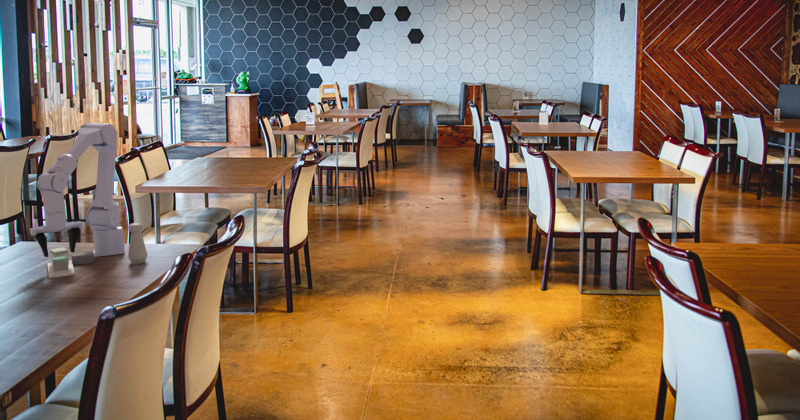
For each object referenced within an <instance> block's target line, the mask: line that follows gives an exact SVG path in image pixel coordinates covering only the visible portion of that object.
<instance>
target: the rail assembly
mask: <svg viewBox="0 0 800 420" xmlns="http://www.w3.org/2000/svg"><path fill="white" fill-rule="evenodd" d="M52 260H53V266H52V265H51V262H47V270H48V278H49V279H53V278H60V277H68V276H75V269H74V265H73V264H72V259H69V265H68V258H67V256H59V257H52Z"/></svg>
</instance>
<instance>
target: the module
mask: <svg viewBox="0 0 800 420" xmlns="http://www.w3.org/2000/svg"><path fill="white" fill-rule="evenodd" d="M49 253H50V263H51V265H52V266H53V260H52V257H59V256H67V258H68V265H69V260H70V258H69V249H67V248H66V247H63V246H62V247H57V248H51V249H49Z"/></svg>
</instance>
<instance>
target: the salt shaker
mask: <svg viewBox="0 0 800 420" xmlns="http://www.w3.org/2000/svg"><path fill="white" fill-rule="evenodd" d="M143 228H144V227H143V224H142V223H139V222H133V223H132V222H131V223H130V224H129V225H128V228H127V229H128V232H130V238H129V246H128V255H127V256H128V259H129V261H130V264H131V265H142V264H145V263H146V260H147V259H148V251H147V248H146V245H145V241H144V237H143V233H142V231H143Z"/></svg>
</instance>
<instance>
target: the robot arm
mask: <svg viewBox="0 0 800 420" xmlns="http://www.w3.org/2000/svg"><path fill="white" fill-rule="evenodd" d="M77 130H78V133H77V134H78V136H77V137H76V139H75V140H74V142H73V143H72V145H71V146H70V148H69V149H68V151H67V153H65V154H63V153H62V154H59V155H58V156H57V157H56V160H54V161H55V162H54V163H53V164H52V165H51V167H49V168H48V170H47V172H43V173H41V174H40V175H39V176H38V178H37V182H36V187H37V189H38V190H39V191H40V196H41V198H42V202H43V208H44V209H43V212H44V221H45V225H41V226H37V227H31V228H29V233H30V236H33V237H34V239H35V240H36V241H37V244H39V246H40V249H41V252H42V254H43V256H44V257H45V258H49V251H48V250H49V249H48V237H47V236H46V234H49V233H50V234H51V233H55V232H62V231H63V232H64V231H66V232H67V237H68V241H69V243H68V244H69V251H70V253H72V254H73V253H76V251H75V250H76V245H77V241H78V239H79V237H80V234H81V229H83V222H82V221H80V220H79V221H78V220H77V221H69V222H67V214H66V204H65V195H64V191H65V190H66V189H67V187H68V182H69V179H70V178H69V177H70V176H71V175H72V173H73V172H74V171H75V169H76V168H77V167H78V161H77V160H79V159H80V157H81V156H82V155H83V154H84V153H85V152H86V151H87V150H88V148H89V147H90V146H91V147H92V148H94V149H95V150H96V151H97V153H98V155H97V156H98V157H97V170H96V182H95V183H96V185H95V196H94V197H95V198H94V199H93V200H92V201H91V202H90V203H89V204H88V208H87V211H86V215H85V221H86V223H87V224H88V226H90V229H92V235H93V236H92V237H93V247H94V250H92V252H93V257H94V258H97V257H107V256H115V255H124V254H126V252H125V250H126V249H125V245H126V244H125V241H124V240H125V239H124V231H123V230H124V229H123V227H122V226H119V224H120V223H121V219H122V218H121V212H120V205H119V204H118V203H117V202H115V200H114V199H113V198H114V186H115V174H116V173H115V172H116V169H115V168H116V157H117V140H118V130H117V129H116V128H115V127H114V125H113V124H112V123H110V122H109V123H108V122H107V123H96V122H95V123H92V122H91V123H90V122H84V123H83V124H82V125H81V126H80V127H79V129H77Z"/></svg>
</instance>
